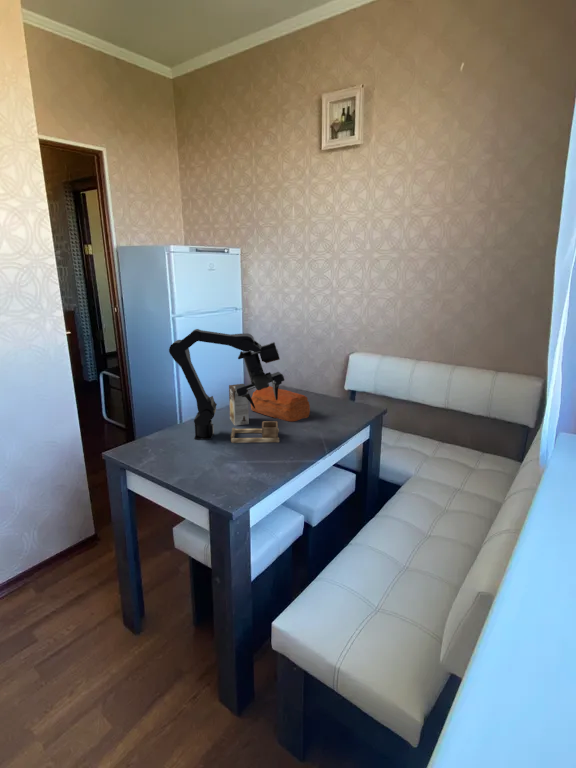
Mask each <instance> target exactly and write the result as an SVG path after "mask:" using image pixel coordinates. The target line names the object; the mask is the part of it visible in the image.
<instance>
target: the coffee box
mask: <svg viewBox="0 0 576 768" xmlns="http://www.w3.org/2000/svg"><path fill="white" fill-rule="evenodd" d="M241 384H242V383H237V384H229V385H228V398H229V399H228V400H229V420H230V421H231V423H232V424H233V425H234V427H236V426H243V425H249V424H250V423H249V422H250V421H249V400H248V399H247V398H246V397H242V396H238V395H237V393H236V391H235V387H236V386H238V385H241ZM247 391H248V392H249V390H247Z"/></svg>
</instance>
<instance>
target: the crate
mask: <svg viewBox="0 0 576 768" xmlns="http://www.w3.org/2000/svg"><path fill="white" fill-rule="evenodd" d="M278 424H279V423H278V421H277V420H276V421H274V420H272V421H268V420H266V421H265V420H264V421H262V422H261V429H262V433H261V438H279V433H278V428H279V426H278Z"/></svg>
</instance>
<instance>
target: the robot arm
mask: <svg viewBox="0 0 576 768" xmlns="http://www.w3.org/2000/svg"><path fill="white" fill-rule="evenodd" d="M197 342H200V343H201V342H203V343H209V344H215V345H223V346H224V345H225V346H229V347H232V348H234V349H236V350H240V352H239V355H238V357H237V359H238V360H241V359H243V361H244V363H245V367H246V370H247V374H248V377H249V379H250V383H249V384H245V383H240V384H241V385H238V386H236V387H235V391H236V393H237V395H238V396H242V397H246V398H247V399H248V403H251V404H252V406H253V407H254V408H255V406H254V403H253V401H252V399H251V398H252V396H251V394H250V393H249V391H250V390H252V389H255V390H261V389H263V388H267V387H269V386H270V383H271V387H273V391H274V395H275V399H276V400H278V388H279V387H280V385H282V384H283V382H284V381H285V376H284V375H283V374H282V373H281V372H279V371H277V372H273V373H271V372H270V371H269V372H267V373H265V371H264V368H263V366H262V362H263V363H265V364H268V363H269V364H270V363H271V362H275V361H279V360H281V358H280V354H279V351H278V349H277V345H276V343H275V341H272V342H270V343H268V344H264V345H261V344H260V343H259V342H257V341H256V340H255V337H254V336H253V335H252V334H251V333H232V334H229V333H225V332H224V333H223V332H222V333H221V332H215V331H210V330H209V331H208V330H203V329H199V328H195V329H193V330H192V331H191V332H190V333H189V334H187V336H185V337H184V338H182V339H176V340H175V341H174V342H172V343H171V344H170V346H169V349H168V352H169V354H170V356H171V358H172V359H173V360H174V361H175V363H177V364H178V366H179V367H180V368H181V370H182V372H183V374H184V377H185V379H186V381H187V383H188V385H189V388H190V389H191V392H192V394H193V396H194V398H195V401H196V406H197V407H196V408H197V413H196V415H195V417H194V419H193V424H194V440H211V439H212V438H213V436H214V433H215V430H214V427H215V426H214V423H213V419H214V417H215V415H216V411H217V406H218V403H216V401H215V399H214V396H213V395H211V396H209V395H208V394H207V393H206V391H205V388H204V386H203V384H202V382H201V380H200V378H199V376H198V373H197V371H196V369H195V367H194V365H193V362H192V358H191V353H190V347H191V346H193V345H194V344H196V343H197ZM279 389H280V388H279ZM247 390H248V391H247ZM251 404H250V405H251Z"/></svg>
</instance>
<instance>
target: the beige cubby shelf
mask: <svg viewBox="0 0 576 768" xmlns="http://www.w3.org/2000/svg"><path fill="white" fill-rule="evenodd" d="M279 431H280V430H279V427H278V434H279ZM236 434H262V428H236V427H232V428H231V433H230V442H231V443H233V444H238V443H239V444H240V443H244V444H245V443H248V444H249V443H251V444H252V443H280V437H278V438H262V437H235V436H236Z"/></svg>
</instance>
